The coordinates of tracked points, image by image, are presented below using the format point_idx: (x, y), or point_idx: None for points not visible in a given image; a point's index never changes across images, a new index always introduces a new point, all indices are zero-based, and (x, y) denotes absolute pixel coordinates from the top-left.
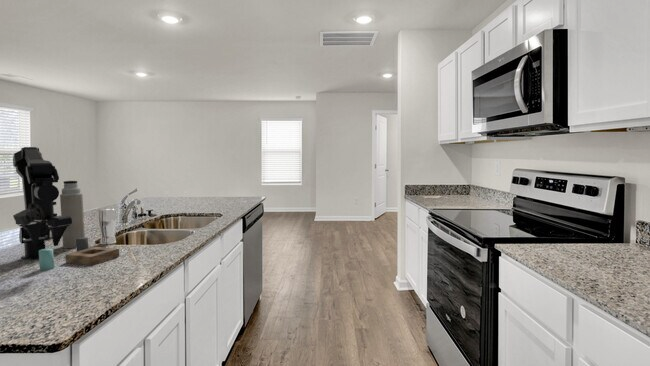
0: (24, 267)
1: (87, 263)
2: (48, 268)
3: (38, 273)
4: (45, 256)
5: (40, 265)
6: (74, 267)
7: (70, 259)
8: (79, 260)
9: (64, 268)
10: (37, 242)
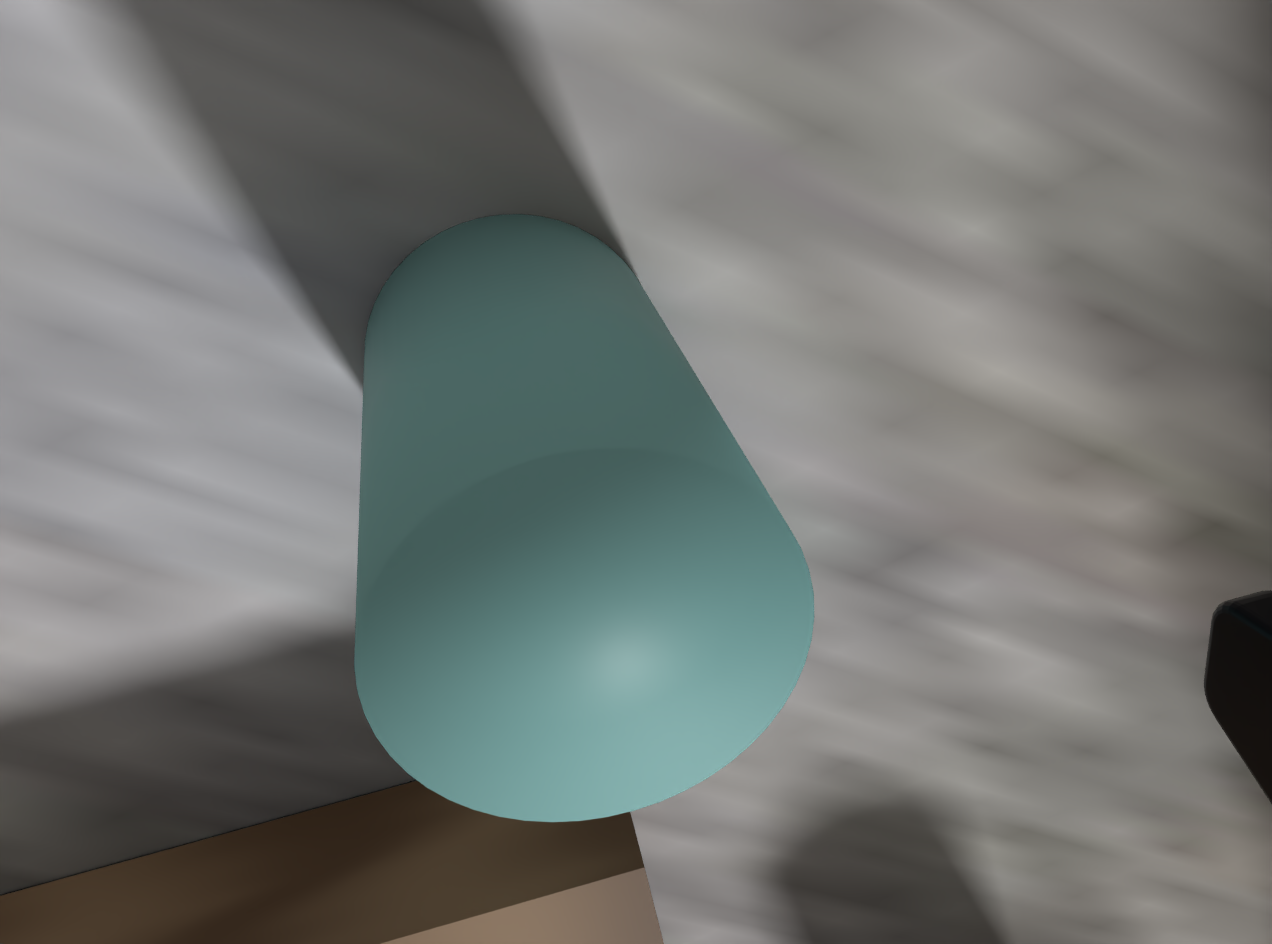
0: (1126, 131)
1: (6, 915)
2: (366, 342)
3: (185, 20)
4: (381, 459)
5: (509, 252)
6: (26, 697)
7: (494, 823)
8: (229, 894)
9: (134, 559)
10: (1234, 737)
